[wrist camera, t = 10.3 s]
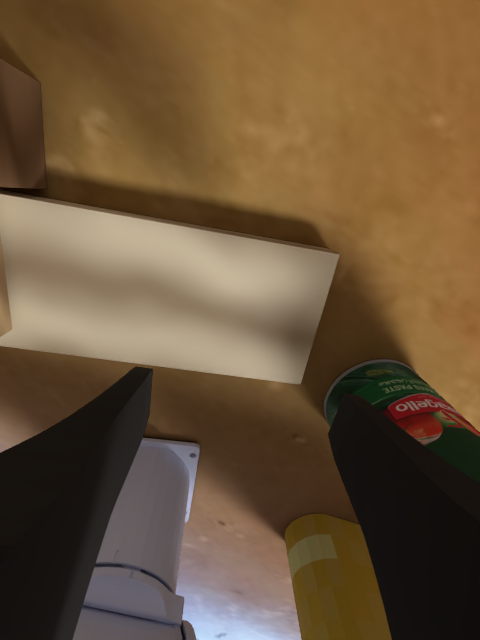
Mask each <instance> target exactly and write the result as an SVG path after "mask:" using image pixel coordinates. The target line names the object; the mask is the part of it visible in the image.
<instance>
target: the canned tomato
mask: <svg viewBox="0 0 480 640" xmlns="http://www.w3.org/2000/svg"><path fill="white" fill-rule="evenodd" d="M343 393H346V394H354V395H359V396H361V397H362V398H364V399H365V400H366V401H368V402H369V403H370V404H372V405H373V406H374V407H376V408H377V409H378V410H379V411H381V412H382V413H383V414H384V415H386V416H387V417H388V418H389V419H391V420H392V421H393V422H394V423H396V424H397V425H398V426H400V427H401V428H402V429H403V430H405V431H406V432H407V433H408V434H410V435H411V436H412V437H414V438H415V439H416V440H418V441H419V442H420V443H422V444H423V445H424V446H426V447H427V448H428V449H430V450H431V451H433V452H434V453H435V454H437V455H438V456H439V457H441V458H442V459H444V460H445V461H447V462H448V463H450V464H451V465H453V466H454V467H456V468H457V469H459V470H460V471H462V472H463V473H465V474H466V475H468V476H470V477H471V478H473V479H474V480H476V481H477V482H479V483H480V432H479V431H477V430H476V429H475V428H474V427H473V426H472V425H471V424H470V423H469V422H468V421H467V420H466V419H465V418H464V417H463V416H462V415H461V414H460V413H459V412H457V411H456V410H455V409H454V408H453V407H452V406H451V405H450V404H449V403H447V402H446V401H445V400H444V399H443V397H442V396H440V395H439V394H438V393H437V392H436V391H435V390H434V389H433V388H431V387H430V386H429V385H428V384H427V382H425V381H424V380H423V379H422V378H420V377H419V375H418V374H417V373H416V372H415V371H414V370H413V369H412V368H410V367H409V366H407V365H406V364H404V363H401V362H398V361H396V360H389V359H375V360H370V361H366V362H363V363H360V364H358V365H355V366H353V367H352V368H350V369H348V370H346V371H345V372H344V373H343V374H341V375H340V376H339V377H338V378H337V379H336V380H335V381H334V382H333V384H332V385H331V386H330V388H329V390H328V392H327V394H326V397H325V400H324V414H325V418H326V420H327V422H328V424H329V426H330V427H331V425H332V423H333V420H334V417H335V415H336V412H337V409H338V407H339V404H340V401H341V398H342V396H343Z"/></svg>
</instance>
